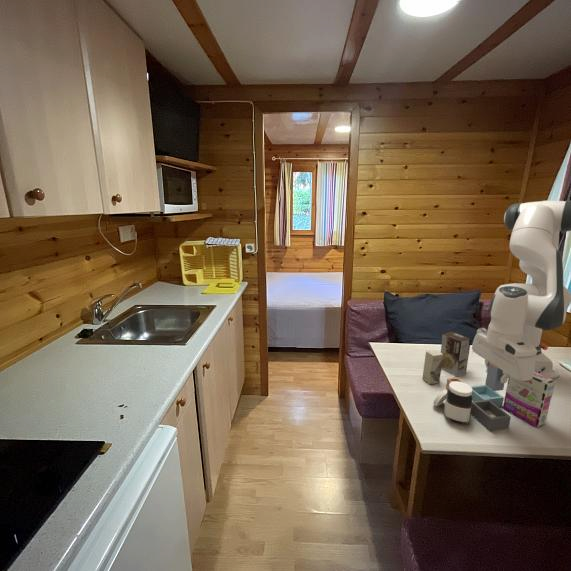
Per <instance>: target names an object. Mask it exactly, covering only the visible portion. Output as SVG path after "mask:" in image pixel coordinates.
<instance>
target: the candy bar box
mask: <svg viewBox="0 0 571 571" xmlns="http://www.w3.org/2000/svg"><path fill="white" fill-rule="evenodd" d="M506 384H507V385H506V389H505V390H506V391H505V396H504V400H503V405H502V410H504V411H506V412H508V413H510V414H512V415H513V416H516V417H517V418H519V419H521V420H522V421H524V422H526V423H527V424H530V425H531V426H533V427H535V428H540V427H541V426H544V425H546V422H547V417H548V414H549V410H550V405H551V400H552V396H553V391H554V388H555V384H556V379H551V378H549V377H546V376H544V375H542V374H539V373H537V372H535V371H534V375H533V378H532V379H531V380H529V381H522V382H521V381H518V380H517V379H515V378H513V377H512V376H510V377H509V378H508V379H507V383H506Z"/></svg>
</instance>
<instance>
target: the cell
mask: <svg viewBox="0 0 571 571" xmlns="http://www.w3.org/2000/svg"><path fill="white" fill-rule="evenodd" d="M503 375H504V374H503V370H501V369H499V368H498V366H497V365H495V364H494V363H492V362H490V361H489V366H488V372H486V377H485V378H486V379H485V383H484V385H486V386H487V387H489V388H490V389H491V390H493V391H496V392H498V391H503V390H505V389H504V388H505V384H506V383H501V382H500V381H499V380H498V379H499V376H503Z"/></svg>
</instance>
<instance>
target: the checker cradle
mask: <svg viewBox="0 0 571 571" xmlns="http://www.w3.org/2000/svg"><path fill="white" fill-rule="evenodd" d="M470 416H472V417H473V418H474V419H475V420H477V421H478V422H479V424H480V425H482V426H483V427H484V428H485V429H486V430H487V431H488V432H493V431H494V432H495V431H500V430H501V431H502V430H508V429H509V427H510V424H511V418H512V416H511V415H509V414H508V413H507V411H506V412H505V410H504V409H503V408H500V406H499V407H498V406H497V405H495V404H494V403H493V402H491V401H490V400H481V401H473V400H472V406H471V412H470Z"/></svg>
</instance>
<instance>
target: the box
mask: <svg viewBox="0 0 571 571" xmlns="http://www.w3.org/2000/svg"><path fill="white" fill-rule="evenodd" d="M442 361H443V354H442V353H441V351H439V350H438V349H432V350H426V351H425V356H424V365H423V372H422V380H423V381H425V382H426V383H427V384H428V385H433V384H438V383H440V381H441V375H442V374H441V372H442V369H441V367H442Z"/></svg>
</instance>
